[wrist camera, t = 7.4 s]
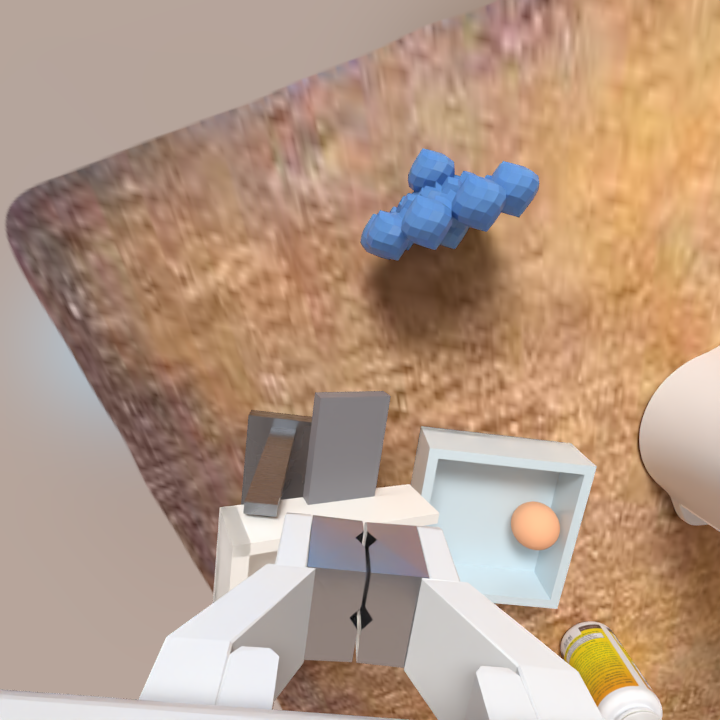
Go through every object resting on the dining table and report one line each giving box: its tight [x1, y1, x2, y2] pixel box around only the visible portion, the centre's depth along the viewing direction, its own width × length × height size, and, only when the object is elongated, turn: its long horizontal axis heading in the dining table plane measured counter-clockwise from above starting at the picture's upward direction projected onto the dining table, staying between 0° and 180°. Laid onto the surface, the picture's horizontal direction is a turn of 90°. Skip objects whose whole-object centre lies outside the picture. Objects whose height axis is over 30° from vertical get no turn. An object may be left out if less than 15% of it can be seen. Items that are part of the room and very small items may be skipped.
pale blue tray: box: [411, 426, 596, 609], centre depth 42 cm, size 14×14×4 cm
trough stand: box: [241, 410, 312, 517], centre depth 37 cm, size 6×13×13 cm, turn 172°
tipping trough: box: [213, 391, 439, 603], centre depth 32 cm, size 14×16×4 cm
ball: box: [511, 501, 560, 550], centre depth 42 cm, size 4×4×4 cm
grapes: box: [361, 149, 539, 261], centre depth 32 cm, size 12×7×12 cm, turn 111°
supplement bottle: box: [561, 621, 662, 720], centre depth 44 cm, size 6×6×10 cm
